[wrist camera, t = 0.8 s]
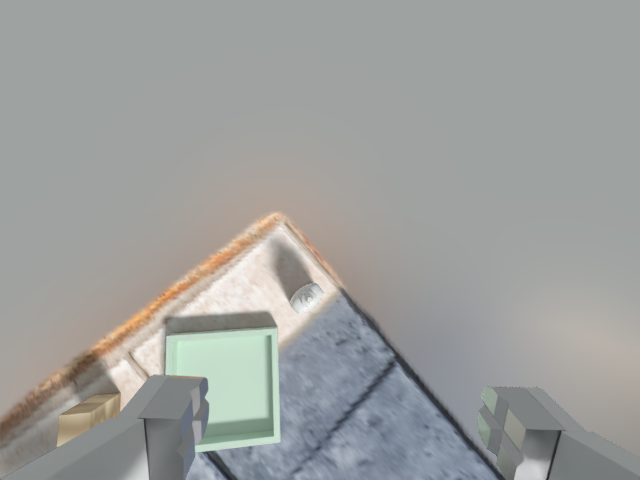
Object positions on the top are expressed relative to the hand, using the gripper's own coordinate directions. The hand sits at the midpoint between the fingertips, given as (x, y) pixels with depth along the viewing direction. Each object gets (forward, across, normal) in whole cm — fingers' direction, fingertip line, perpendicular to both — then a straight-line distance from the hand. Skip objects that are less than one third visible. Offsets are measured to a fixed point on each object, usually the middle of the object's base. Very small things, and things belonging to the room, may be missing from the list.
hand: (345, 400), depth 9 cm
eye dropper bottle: (+45, -2, -16) cm, 48 cm away
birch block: (+35, -34, -33) cm, 58 cm away
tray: (+38, -15, -30) cm, 51 cm away
